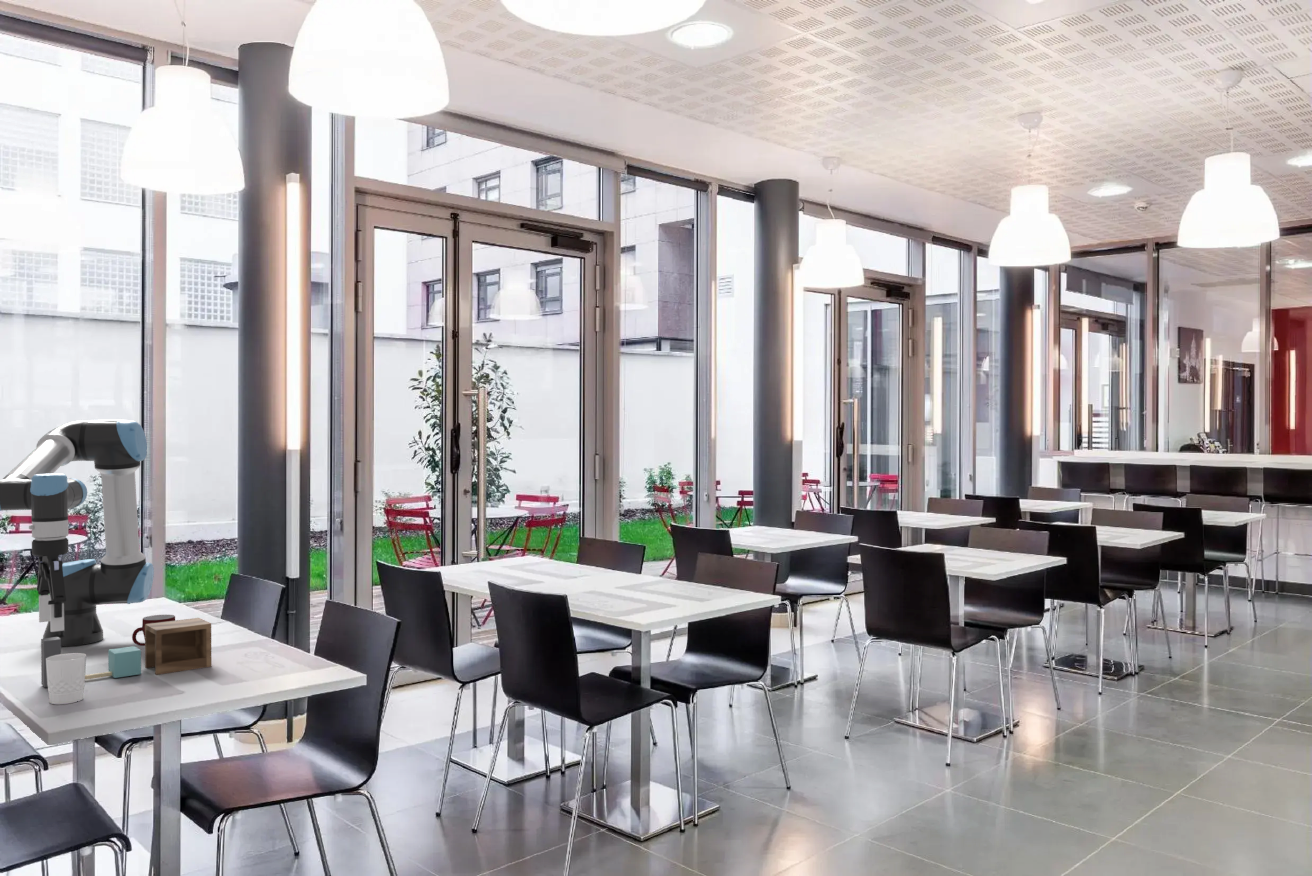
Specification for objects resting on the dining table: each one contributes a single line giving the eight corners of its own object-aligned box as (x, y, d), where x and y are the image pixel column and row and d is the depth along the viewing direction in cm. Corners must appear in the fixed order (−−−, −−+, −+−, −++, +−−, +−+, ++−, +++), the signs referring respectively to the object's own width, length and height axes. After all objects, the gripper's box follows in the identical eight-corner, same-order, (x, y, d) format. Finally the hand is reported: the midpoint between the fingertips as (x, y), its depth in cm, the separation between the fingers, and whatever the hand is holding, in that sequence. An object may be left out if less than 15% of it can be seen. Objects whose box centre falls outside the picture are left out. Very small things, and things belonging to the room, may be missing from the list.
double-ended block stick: (40, 683, 240) (40, 638, 240) (134, 669, 254) (134, 626, 254) (45, 688, 236) (45, 642, 236) (141, 674, 249) (140, 630, 249)
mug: (132, 659, 266) (132, 622, 266) (132, 653, 274) (131, 617, 273) (176, 654, 272) (176, 618, 271) (174, 649, 279) (174, 613, 278)
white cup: (57, 696, 230) (57, 653, 230) (92, 695, 231) (92, 652, 230) (39, 706, 222) (38, 661, 222) (76, 705, 223) (75, 660, 223)
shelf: (145, 667, 257) (144, 624, 257) (198, 659, 266) (198, 617, 266) (156, 674, 250) (156, 630, 250) (211, 666, 258) (211, 623, 258)
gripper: (22, 534, 245) (23, 619, 246) (42, 545, 227) (43, 637, 227) (57, 531, 250) (58, 615, 251) (79, 542, 232) (80, 632, 232)
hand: (51, 626), depth 239 cm, fingers open, 13 cm apart
